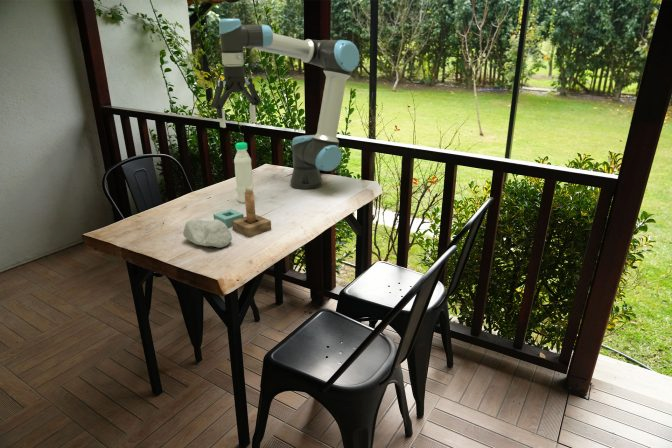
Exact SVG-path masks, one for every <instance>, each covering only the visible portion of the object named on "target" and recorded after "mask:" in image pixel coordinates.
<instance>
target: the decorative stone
mask: <svg viewBox="0 0 672 448" xmlns="http://www.w3.org/2000/svg"><path fill="white" fill-rule="evenodd" d="M182 233H183V234H182V235H183V236H184V238H185V239H186V240H187V241H189V242H191V243H193V244H195V245H198V246H204V247H216V248H224V247H227V246H228V245H229V244H230V243H231V241H232V239H233V236H232V233H231V231H230V229H229V228H227V226H226V225H225V224H224V223H223V222H221V221H220V220H217V219H215V220H214V219H212V220H206V219H204V220H203V219H199V218H192V219H188V220H187V221H186V222H185V224H184V228H183V231H182Z"/></svg>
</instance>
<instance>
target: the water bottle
mask: <svg viewBox="0 0 672 448" xmlns="http://www.w3.org/2000/svg"><path fill="white" fill-rule="evenodd" d="M234 145H235V150H236V154H235V156H234V160H233V163H234V174H235V175H234V176H235V182H236V192H237V196H236V197H237V201H238V203H241V204H245V188H247V187H252V191H253V192H254V183H253V181H254V179H253V168H252V158H251V157H250V154H249V153H248V151H247V150H248V143H247V142H245V141H243V142H236V144H234Z"/></svg>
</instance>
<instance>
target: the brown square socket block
mask: <svg viewBox="0 0 672 448" xmlns="http://www.w3.org/2000/svg"><path fill="white" fill-rule="evenodd" d="M255 216H256V222H255V223H252V224H248V223H247V215H246V216H243V218H240V219H237V220H234V221H232V231H235V232H237V233H238V234H240V235H242V236H245V237H247V238H252V237H255V236H257V235H260V234H263V233H267V232H268V231H269V232H270V231H271V230H272V222H271V221H272V220H270V219H267V218H266V217H263V216H260V215H258V214H256V213H255Z"/></svg>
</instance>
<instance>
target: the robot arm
mask: <svg viewBox="0 0 672 448" xmlns="http://www.w3.org/2000/svg"><path fill="white" fill-rule="evenodd" d="M218 23H219V24H218V33H219V38H220V39H219V40H220V47H221V61H222V65H224V66H222V69H223V70H222V71H223V76H224V77H223V78H224V80H216V88H215V92H214V95H213V98H212V101H211V105H210V107H211V108H212V109H215V110H216V116H217V118H218V119H219V127H220V128H223V129H225V128H227V126H226V125H227V124H226V122H227V121H226V114H225V109H224V106H225V104H226V102H227V101H228V99H229V97H230V95H232V93H242V95H243V96H244V97H245V98H246V99H247V100H248V101H249V103H250V104H248V108H249V119H250V121H249V122H250V123H254V124H256V123H257V112H258V107H257V106H259V103H261V101H262V100H261V98H260V96H259V94H258V92H257V90H256V87H255V86H254V83H253V78H250V77H246V76H245V75H246V72H245V66H244V48H246V49H251V50H257V51H261V52H266V53H271V54H275V55H281V56H284V57H289V58H290V57H291V58H294V59H299V60H302V62H303V63H306V64H310V65H314V66H317V67H320V68H322V69H323V74H324V75H325V83H324V89H323V95H322V101H321V107H320V111H319V112H320V113H319V118H318V123H317V131H316V133H315V134H309V135H308V134H307V135H300V136H295V137H293V138H292V143H291V147H292V162H293V163H292V164H293V170H292V172H291V173H292V174H291V178H290V183H289V184H290V185H289V186H290V187H292V188H293V189H299V190H312V189H313V190H314V189H317V188H319V187H322V186H323V178H322V175H321V172H320V171H324V172H331V171H333V170H335V168H338V166H339V165H340V163H341V161H342V156H343V155H342V151H341V148H340V147H339V143H340V141H339V139H338V137H337V135H338V129H339V124H340V117H341V112H342V108H343V101H344V96H345V89H346V84H347V81H348V79H350V78H351V77H352V71H354V70H355V69H356V68H357V67H358V66H359V63H360V52H359V49H358V48H357V46H356V44H354V42H352V41H350V40H346V39H334V40H333V39H322V40H317V39H310V38H307V39H305V40H304V39H299V38H295V37H291V36H287V35H282V34H278V33H275V32H273V30H272V28H271V27H270V25H268V24H242V21H241V19H239V18H221V19H219V22H218ZM245 77H246V78H245ZM245 84H246V86H245ZM224 87H225V88H224ZM246 87H247V88H246Z"/></svg>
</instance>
